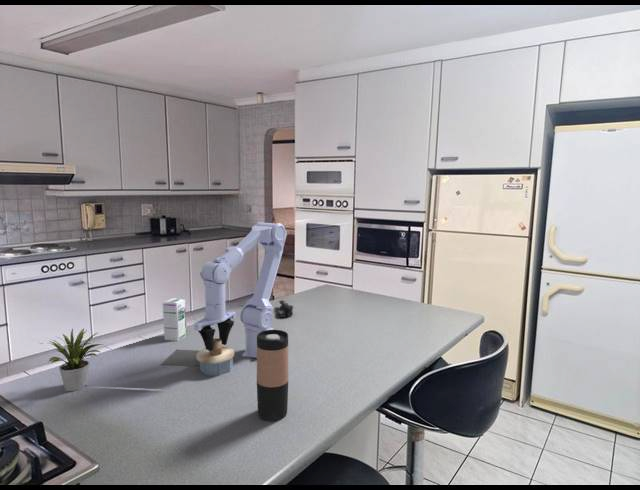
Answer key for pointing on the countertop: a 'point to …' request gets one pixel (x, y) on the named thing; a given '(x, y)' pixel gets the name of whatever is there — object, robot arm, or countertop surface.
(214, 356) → the lid
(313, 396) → the countertop surface
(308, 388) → the countertop surface
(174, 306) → the syrup box
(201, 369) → the bowl
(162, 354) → the countertop surface
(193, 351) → the mat
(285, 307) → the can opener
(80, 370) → the house plant
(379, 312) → the countertop surface
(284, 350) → the travel mug
